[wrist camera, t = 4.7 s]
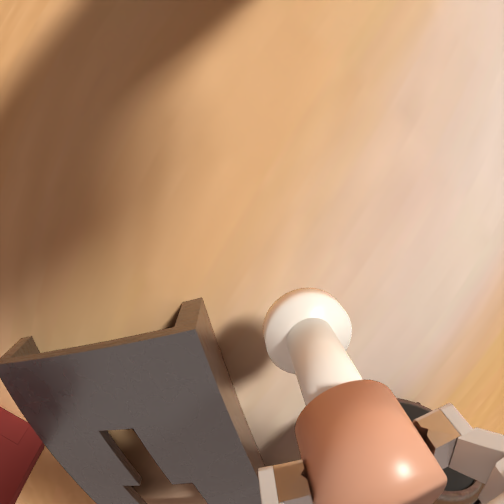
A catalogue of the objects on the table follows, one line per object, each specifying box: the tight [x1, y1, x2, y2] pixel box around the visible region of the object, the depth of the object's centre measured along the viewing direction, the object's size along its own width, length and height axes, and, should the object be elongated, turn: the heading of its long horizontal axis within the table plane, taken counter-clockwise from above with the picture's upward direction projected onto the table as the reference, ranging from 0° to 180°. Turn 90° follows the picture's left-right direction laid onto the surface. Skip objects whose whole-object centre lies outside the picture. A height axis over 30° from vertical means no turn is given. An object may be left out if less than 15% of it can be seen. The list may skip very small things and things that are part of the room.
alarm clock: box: [396, 398, 485, 504], centre depth 18 cm, size 14×7×20 cm, turn 68°
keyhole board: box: [0, 298, 265, 504], centre depth 24 cm, size 18×24×5 cm
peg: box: [263, 288, 447, 504], centre depth 12 cm, size 5×5×12 cm
